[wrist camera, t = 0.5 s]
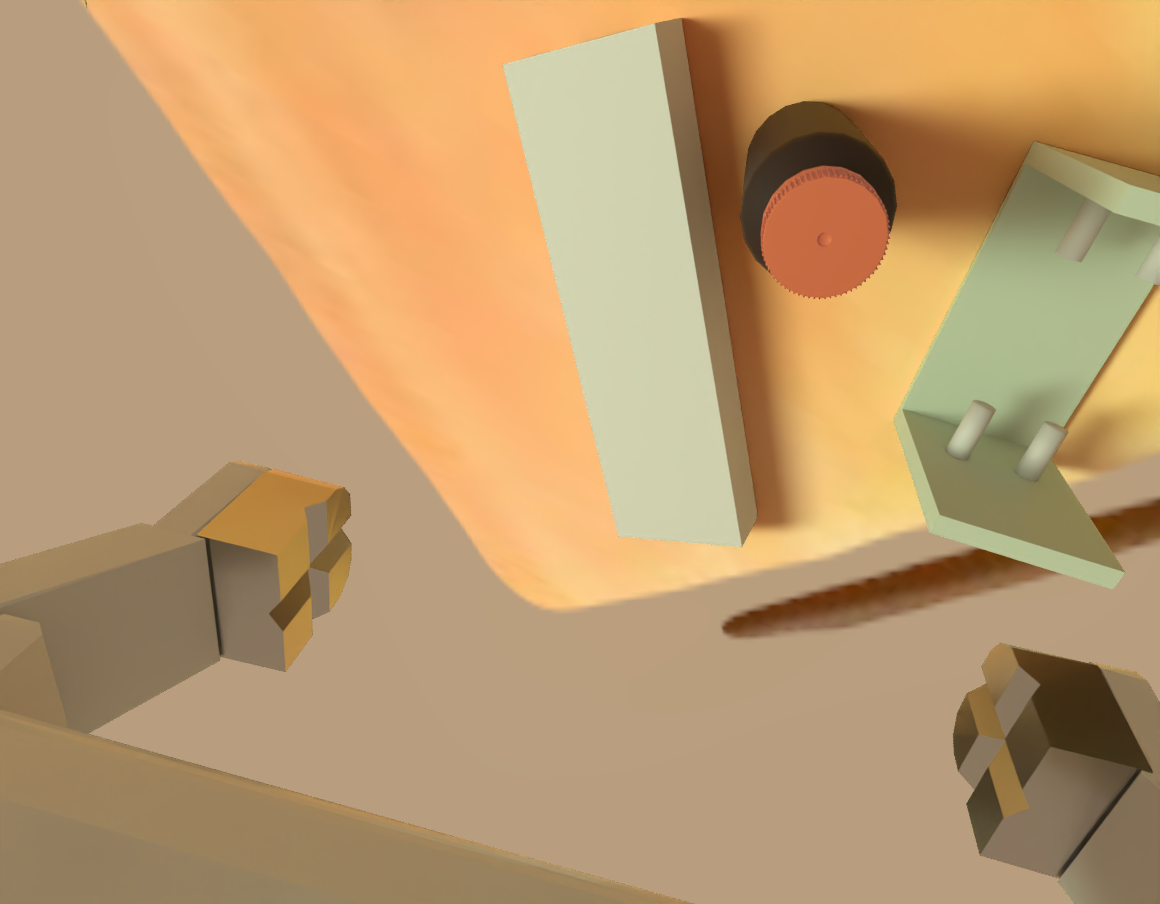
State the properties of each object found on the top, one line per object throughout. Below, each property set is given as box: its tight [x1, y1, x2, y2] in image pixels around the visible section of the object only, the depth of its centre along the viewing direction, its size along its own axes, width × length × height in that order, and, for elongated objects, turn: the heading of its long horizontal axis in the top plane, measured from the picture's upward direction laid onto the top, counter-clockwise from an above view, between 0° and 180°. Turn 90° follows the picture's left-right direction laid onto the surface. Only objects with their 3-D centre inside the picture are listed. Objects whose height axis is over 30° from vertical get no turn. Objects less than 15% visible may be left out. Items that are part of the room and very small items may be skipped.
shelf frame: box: [893, 141, 1160, 589], centre depth 44 cm, size 19×10×14 cm, turn 167°
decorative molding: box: [503, 18, 757, 547], centre depth 54 cm, size 34×5×10 cm
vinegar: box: [740, 101, 897, 299], centre depth 40 cm, size 7×7×20 cm
